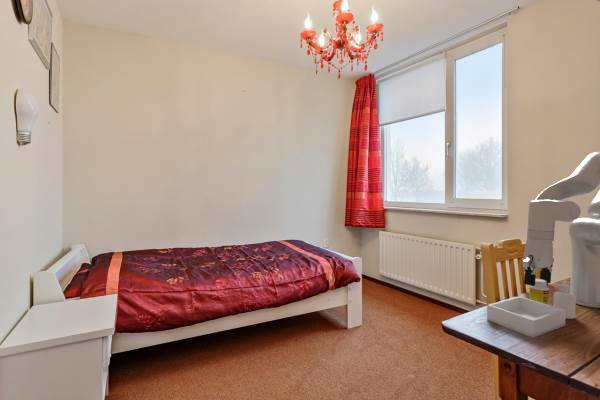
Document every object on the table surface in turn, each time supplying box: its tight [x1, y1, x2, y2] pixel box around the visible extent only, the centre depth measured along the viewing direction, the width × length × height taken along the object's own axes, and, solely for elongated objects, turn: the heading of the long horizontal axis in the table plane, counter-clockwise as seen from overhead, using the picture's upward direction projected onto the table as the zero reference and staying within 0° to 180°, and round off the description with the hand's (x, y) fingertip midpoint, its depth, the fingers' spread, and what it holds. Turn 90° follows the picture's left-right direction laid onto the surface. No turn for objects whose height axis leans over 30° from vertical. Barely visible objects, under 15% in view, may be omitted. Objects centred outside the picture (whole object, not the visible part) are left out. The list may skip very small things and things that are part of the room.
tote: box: [486, 295, 567, 338], centre depth 101 cm, size 18×14×5 cm
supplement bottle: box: [528, 278, 550, 305], centre depth 112 cm, size 6×6×10 cm
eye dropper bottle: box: [552, 280, 577, 320], centre depth 105 cm, size 4×6×12 cm
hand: (537, 283), depth 112 cm, fingers open, 9 cm apart
